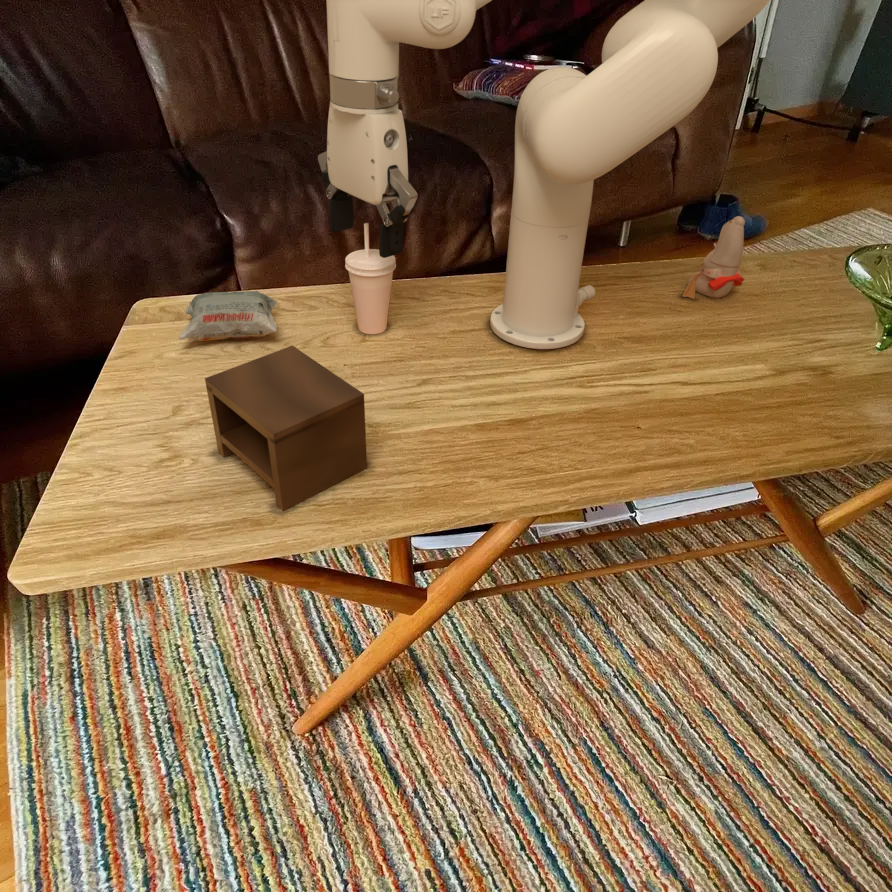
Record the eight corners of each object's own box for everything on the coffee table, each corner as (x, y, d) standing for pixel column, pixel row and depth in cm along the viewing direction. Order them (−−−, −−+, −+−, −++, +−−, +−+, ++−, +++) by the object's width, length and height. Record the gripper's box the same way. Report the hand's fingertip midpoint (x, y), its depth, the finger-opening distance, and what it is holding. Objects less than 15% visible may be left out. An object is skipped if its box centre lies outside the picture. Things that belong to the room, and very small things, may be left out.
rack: (299, 416, 84) (292, 345, 78) (367, 468, 77) (364, 393, 72) (218, 452, 78) (204, 378, 73) (283, 511, 71) (273, 434, 66)
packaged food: (278, 347, 96) (274, 311, 93) (180, 352, 94) (173, 316, 91) (278, 316, 103) (275, 282, 100) (188, 320, 101) (181, 286, 98)
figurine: (708, 276, 117) (741, 203, 109) (741, 299, 113) (777, 225, 105) (668, 286, 113) (699, 211, 105) (701, 310, 109) (735, 234, 101)
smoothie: (371, 311, 104) (368, 211, 96) (406, 326, 101) (406, 224, 93) (338, 328, 100) (332, 225, 92) (373, 344, 97) (370, 239, 89)
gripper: (442, 105, 81) (435, 257, 91) (344, 73, 90) (347, 214, 101) (388, 114, 76) (386, 273, 87) (290, 80, 86) (300, 226, 96)
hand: (365, 241), depth 94 cm, fingers open, 9 cm apart
